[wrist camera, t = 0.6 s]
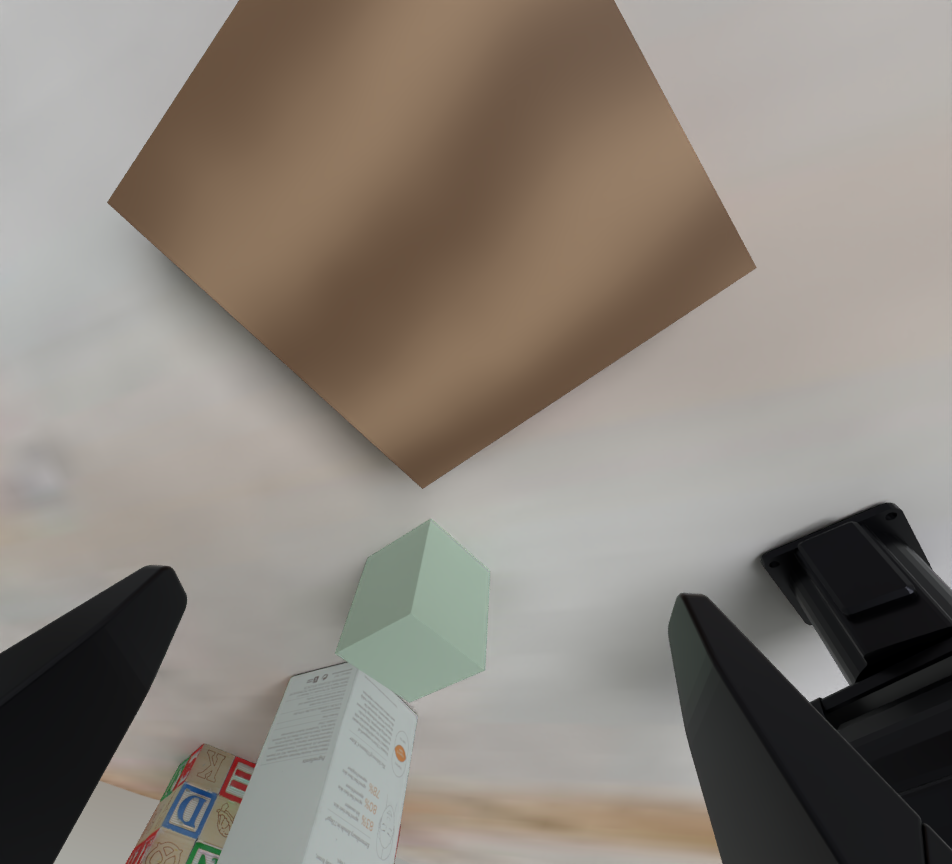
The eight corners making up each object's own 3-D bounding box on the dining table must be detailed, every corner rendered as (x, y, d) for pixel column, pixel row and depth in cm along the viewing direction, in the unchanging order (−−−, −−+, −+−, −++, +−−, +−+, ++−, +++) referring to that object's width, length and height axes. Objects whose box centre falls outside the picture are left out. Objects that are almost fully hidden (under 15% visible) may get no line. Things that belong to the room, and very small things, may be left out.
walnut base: (709, 242, 18) (756, 267, 14) (435, 436, 23) (422, 488, 20) (463, -194, 12) (445, -315, 9) (183, 189, 18) (107, 202, 14)
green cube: (490, 570, 27) (485, 670, 22) (427, 603, 29) (409, 702, 24) (431, 518, 25) (410, 613, 20) (367, 557, 27) (335, 653, 22)
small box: (289, 674, 34) (184, 930, 23) (362, 656, 32) (285, 924, 21) (352, 729, 38) (286, 972, 27) (420, 715, 36) (380, 970, 25)
